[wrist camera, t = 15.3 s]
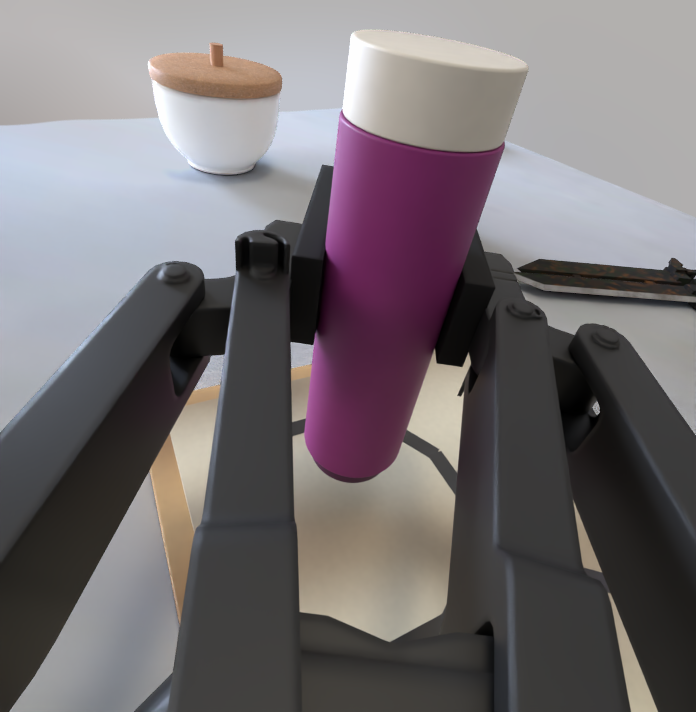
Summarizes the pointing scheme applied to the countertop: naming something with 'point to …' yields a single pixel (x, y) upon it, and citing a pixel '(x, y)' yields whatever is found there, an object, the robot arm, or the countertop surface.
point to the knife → (612, 280)
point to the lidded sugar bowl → (216, 108)
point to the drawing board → (358, 519)
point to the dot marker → (399, 232)
